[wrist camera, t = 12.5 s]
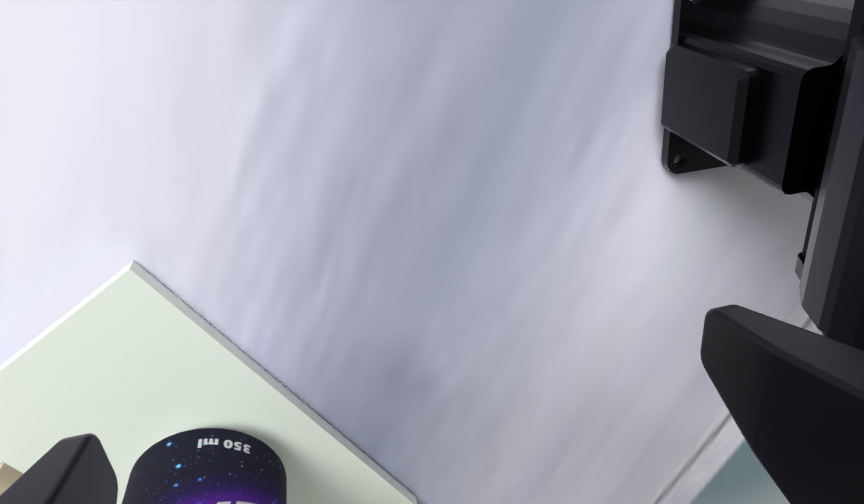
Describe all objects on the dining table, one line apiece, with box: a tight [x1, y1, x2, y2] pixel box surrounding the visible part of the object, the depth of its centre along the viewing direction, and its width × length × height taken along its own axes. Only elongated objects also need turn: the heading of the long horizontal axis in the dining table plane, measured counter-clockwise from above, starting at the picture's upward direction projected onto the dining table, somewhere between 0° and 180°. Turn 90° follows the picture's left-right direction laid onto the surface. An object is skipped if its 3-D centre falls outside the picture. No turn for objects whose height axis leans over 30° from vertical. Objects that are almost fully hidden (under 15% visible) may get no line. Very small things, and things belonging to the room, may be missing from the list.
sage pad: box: [0, 260, 417, 504], centre depth 26 cm, size 9×16×1 cm, turn 36°
